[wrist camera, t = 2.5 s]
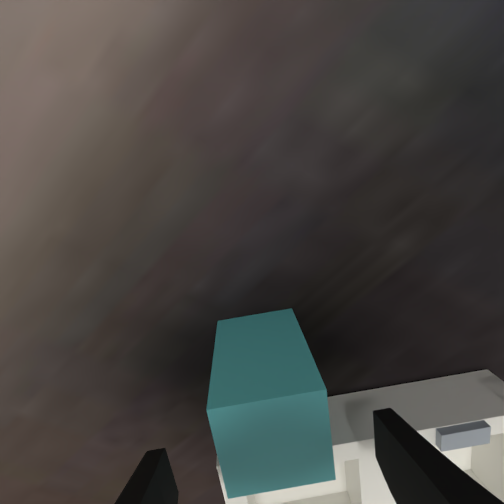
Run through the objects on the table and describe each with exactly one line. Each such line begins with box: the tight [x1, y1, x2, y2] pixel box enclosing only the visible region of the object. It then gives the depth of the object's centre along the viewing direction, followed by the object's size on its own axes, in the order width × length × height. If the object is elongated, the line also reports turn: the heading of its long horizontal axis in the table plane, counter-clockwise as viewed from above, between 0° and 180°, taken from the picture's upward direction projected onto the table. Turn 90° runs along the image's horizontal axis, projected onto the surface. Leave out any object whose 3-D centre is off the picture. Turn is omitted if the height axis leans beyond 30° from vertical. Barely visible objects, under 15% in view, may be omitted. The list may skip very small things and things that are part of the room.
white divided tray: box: [217, 369, 504, 504], centre depth 16 cm, size 16×8×3 cm, turn 99°
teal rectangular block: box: [206, 308, 336, 499], centre depth 13 cm, size 4×4×6 cm
